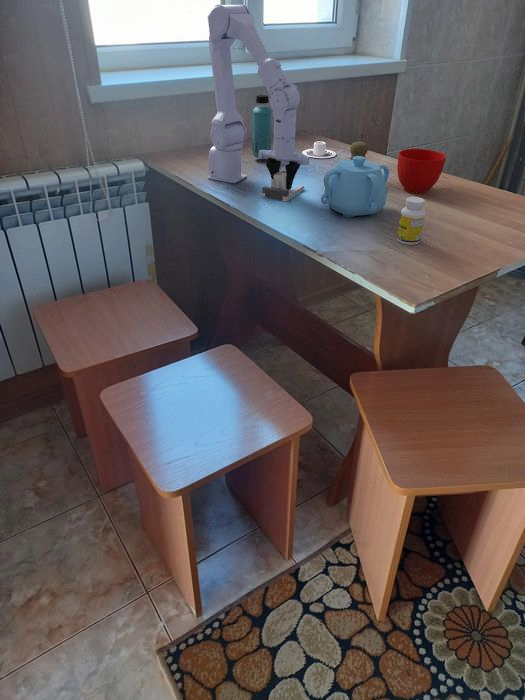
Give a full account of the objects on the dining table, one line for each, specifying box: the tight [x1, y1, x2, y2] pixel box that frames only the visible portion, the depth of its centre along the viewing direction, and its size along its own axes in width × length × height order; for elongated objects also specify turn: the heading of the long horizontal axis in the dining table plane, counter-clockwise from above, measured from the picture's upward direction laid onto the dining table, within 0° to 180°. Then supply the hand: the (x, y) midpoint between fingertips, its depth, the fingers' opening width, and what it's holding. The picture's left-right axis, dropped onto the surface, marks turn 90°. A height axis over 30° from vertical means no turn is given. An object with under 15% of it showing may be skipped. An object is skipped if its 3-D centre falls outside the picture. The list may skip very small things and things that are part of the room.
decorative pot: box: [320, 156, 390, 219], centre depth 131 cm, size 16×16×14 cm
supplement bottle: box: [396, 196, 426, 246], centre depth 116 cm, size 5×5×10 cm
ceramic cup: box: [396, 148, 447, 195], centre depth 148 cm, size 13×17×10 cm
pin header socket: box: [260, 178, 305, 202], centre depth 144 cm, size 8×12×4 cm, turn 152°
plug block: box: [274, 170, 292, 192], centre depth 144 cm, size 4×4×6 cm
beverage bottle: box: [251, 94, 273, 159], centre depth 167 cm, size 6×7×20 cm
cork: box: [349, 141, 369, 160], centre depth 153 cm, size 6×6×11 cm
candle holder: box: [301, 140, 337, 159], centre depth 179 cm, size 12×12×4 cm
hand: (282, 187), depth 144 cm, fingers closed on plug block, 3 cm apart
